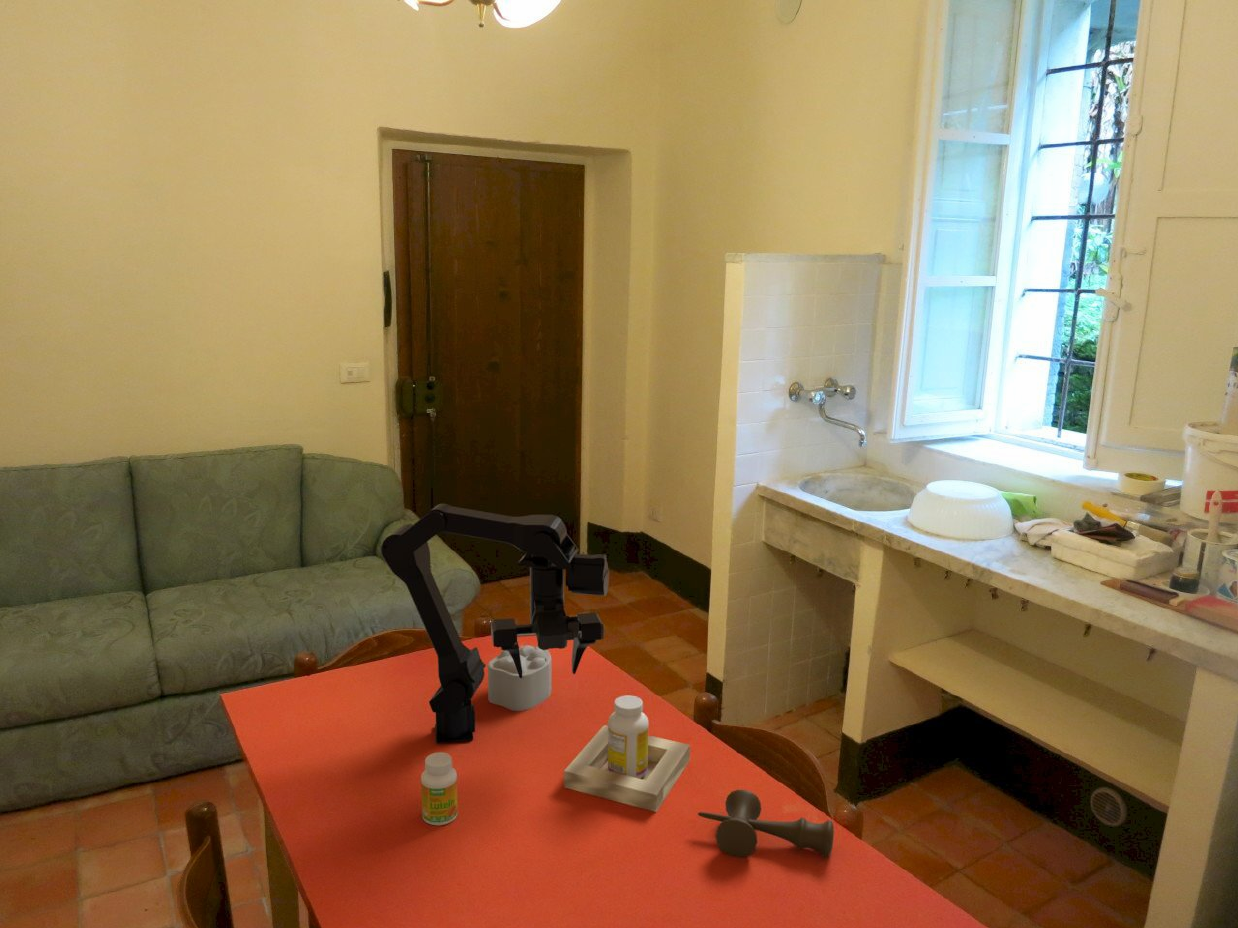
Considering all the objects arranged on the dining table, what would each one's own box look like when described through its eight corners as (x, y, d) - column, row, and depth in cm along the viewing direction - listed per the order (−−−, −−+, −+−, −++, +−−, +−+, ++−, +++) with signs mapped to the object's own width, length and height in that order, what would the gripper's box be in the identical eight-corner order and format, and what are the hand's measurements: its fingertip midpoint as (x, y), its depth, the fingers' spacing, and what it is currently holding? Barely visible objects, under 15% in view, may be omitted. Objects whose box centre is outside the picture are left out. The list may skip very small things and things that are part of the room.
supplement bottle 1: (427, 830, 139) (425, 772, 137) (418, 810, 144) (415, 754, 141) (462, 820, 142) (461, 763, 139) (451, 801, 146) (450, 746, 144)
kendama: (830, 878, 131) (690, 850, 136) (832, 838, 140) (701, 813, 145) (834, 840, 130) (693, 813, 135) (836, 803, 139) (704, 778, 144)
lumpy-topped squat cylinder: (480, 699, 179) (480, 657, 177) (522, 673, 189) (522, 634, 187) (523, 714, 173) (523, 672, 171) (564, 687, 184) (564, 647, 182)
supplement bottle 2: (644, 760, 158) (646, 691, 155) (650, 782, 152) (652, 711, 149) (605, 761, 158) (606, 692, 154) (609, 784, 151) (610, 712, 148)
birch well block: (564, 787, 151) (564, 770, 150) (604, 739, 165) (604, 724, 164) (656, 811, 145) (656, 794, 144) (689, 760, 159) (690, 744, 158)
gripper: (495, 612, 147) (496, 702, 151) (610, 605, 151) (609, 692, 155) (490, 587, 158) (491, 671, 162) (597, 580, 162) (597, 663, 165)
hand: (547, 675), depth 161 cm, fingers open, 9 cm apart
